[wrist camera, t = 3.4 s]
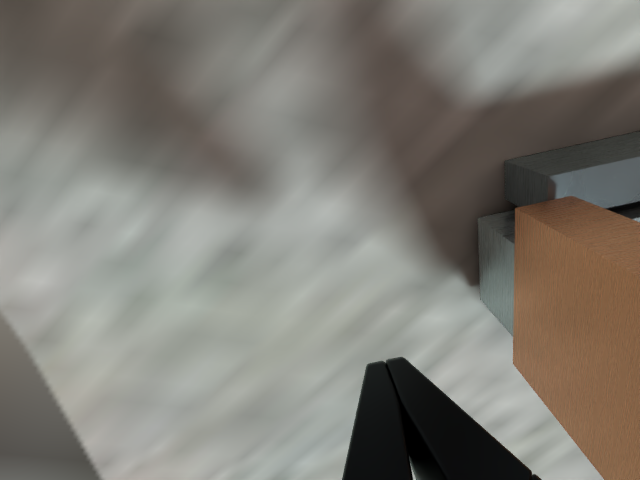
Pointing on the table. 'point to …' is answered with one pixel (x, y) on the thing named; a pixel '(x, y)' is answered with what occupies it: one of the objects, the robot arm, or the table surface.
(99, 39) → the table surface
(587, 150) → the ram guide
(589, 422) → the brown boxy piece
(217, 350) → the table surface
